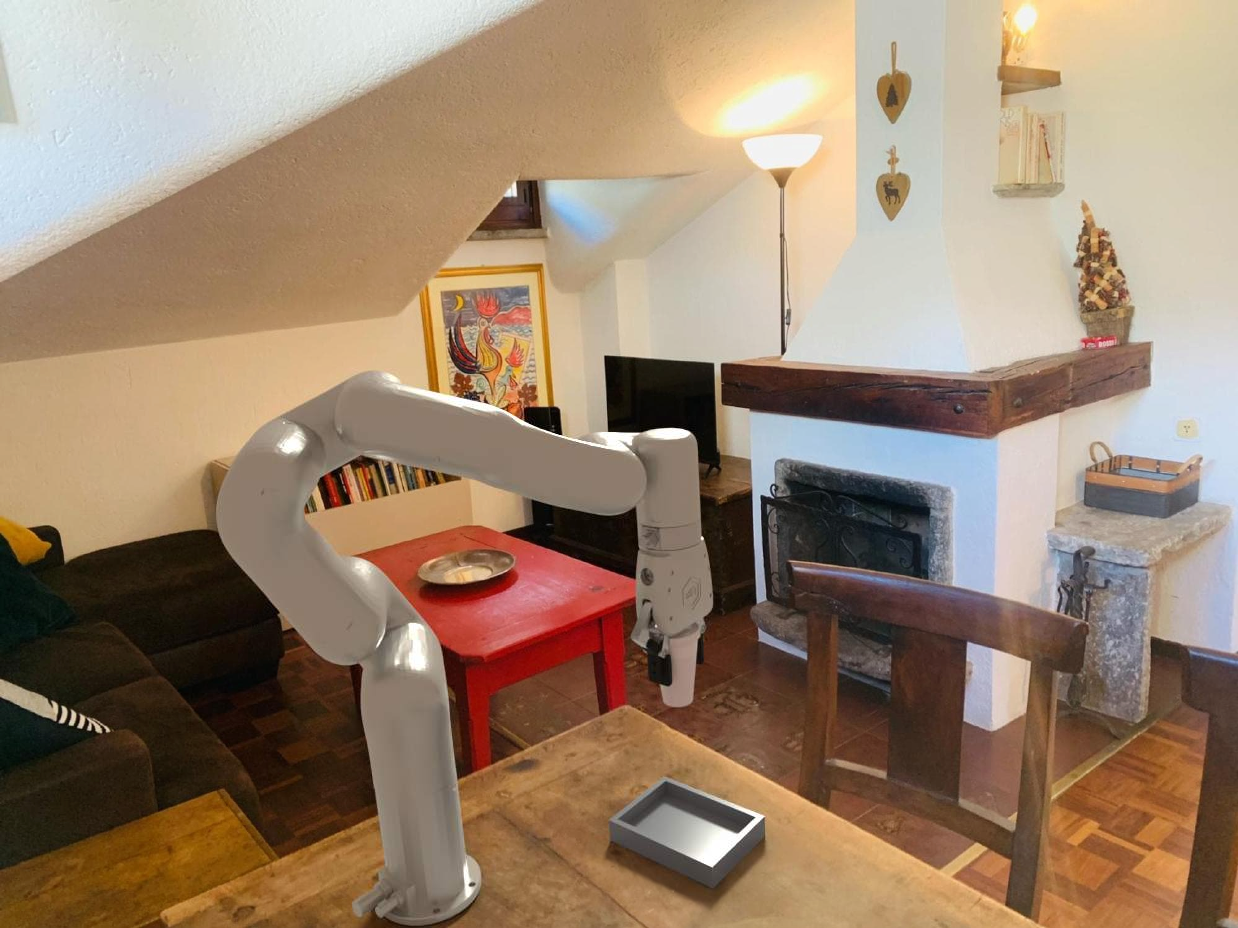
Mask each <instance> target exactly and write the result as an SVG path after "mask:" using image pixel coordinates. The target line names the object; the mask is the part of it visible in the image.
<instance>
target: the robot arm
mask: <svg viewBox="0 0 1238 928" xmlns="http://www.w3.org/2000/svg"><path fill="white" fill-rule="evenodd" d="M698 455H699V450H698V442H697V439H696V436H695V435H694V434H693V433H692V432H691V431H689V430H687V429H686V430H685V429H683V428H675V427H668V428H667V427H666V428H665V427H664V428H655V429H648V430H647V431H646V430H645V431H643V432H612V431H611V432H607V431H598V432H597V431H596V432H590V433H586V434H584V435H581V436H580V437H578V438H576V439H573V438H571V437H567V436H564V435H559V434H556V433H553V432H551V431H547V430H545V429H541V428H539V427H537V426H534V425H532V424H529V423H528V422H526V421H523V420H521V419H520V418H518V417H517V416H515V415H513V414H511V413H509V412H508V411H506V410H504V409H502V408H499V407H497V406H494V405H492V404H488V403H486V402H480V401H477V400H472V399H468V398H463V397H457V396H454V395H450V394H444V393H440V392H436V391H431V390H428V389H425V388H421V387H420V388H419V387H416V386H412V385H407V384H404V383H403V382H402V381H401V380H400V379H399V378H398V377H396V376H395V375H393V374H391V373H389V372H385V371H382V370H381V371H380V370H367V371H364V372H363V371H362V372H359V373H357V374H355V375H353V376H351V377H349V378H347V379H346V380H344V381H342V382H341V383H338V384H337V385H335V386H333V387H332V388H329V389H327V390H326V391H324V392H322V393H320V394H319V395H317V396H314V397H313V398H310V399H309V400H307V401H305V402H304V403H302V404H299V405H297V406H296V407H293V408H292V409H290V410H288V411H286V412H285V413H283V414H281V415H278V416H277V417H275V418H273V419H271V420H270V421H268V422H266V423H265V424H263V425H262V426H261V427H259V428H258V429H257V430H256V431H255V432H254V433H253V434H252V436H251V437H250V438H249V440H247V442H245V444H244V445H243V447H242V448H241V449H240V450H239V452H238V453H237V455H236V456H235V458H234V459H233V460H232V462H231V464H230V467H229V468H228V470H227V472H226V474H225V476H224V478H223V480H222V483H221V487H220V489H219V493H218V496H217V501H216V508H215V509H216V510H215V516H216V517H215V519H216V525H217V530H218V534H219V538H220V539H221V542H222V544H223V545H224V547H225V549H226V551H227V552H228V553H229V555H230V556H231V558H232V559H233V561H235V563H236V564H237V565H238V567H240V568H241V569H242V571H243V572H244V573H245V574H246V575H247V576H248V577H249V578H250V579H251V580H252V582H253V583H255V585H256V586H257V587H258V588H259V589H260V590H261V592H262V593H263V594H264V595H265V596H266V598H267V599H268V600H269V601H270V603H272V605H273V606H274V607H275V608H276V609H277V610H278V612H279V613H280V614H281V615H282V616H283V617H284V618H285V619H286V620H287V622H288V623H289V624H290V625H291V626H292V627H293V628H294V629H295V630H296V631H297V633H298V634H299V635H300V636H301V637H302V639H304V641H305V642H306V643H307V644H308V646H309V647H310V648H311V649H312V650H313V651H314V652H315V653H316V654H317V655H318V656H320V657H321V658H322V659H323V660H326V661H327V662H329V663H331V664H335V665H340V666H352V665H357V664H358V665H360V666H361V667H362V673H361V682H360V683H361V685H360V686H361V687H360V711H361V712H360V713H361V719H362V725H363V731H364V734H365V735H364V736H365V739H366V740H365V741H366V744H367V750H368V756H369V762H370V769H371V774H372V775H371V776H372V781H373V782H372V783H373V789H374V793H375V800H376V808H377V813H378V814H377V815H378V823H379V828H380V836H381V837H380V838H381V842H382V850H383V858H384V864H385V866H384V867H382V868H381V869H379V870H378V871H377V874H378V881H377V882H375V884H374V885H373V889H371V890H370V891H369V892H367V893H364V894H362V895H361V896H360V897H358V898H357V899H355V900H353V901H352V903H351V907H352V910H353V913H354V914H355V915H356V917H358V918H361V917H363V916H365V915H367V914H368V913H369V912H370V911H372V910H373V909H374V911H375V914H376V916H377V917H378V918H380V919H382V918H384V917H385V918H386V919H388V920H390V921H391V922H394V923H396V924H399V925H405V926H415V927H418V926H420V927H421V926H427V925H433V924H437V923H440V922H443V921H445V920H446V921H447V920H449V919H451V918H452V917H455V916H456V915H457V914H459V913H461V912H462V911H463V910H465V909H466V908H467V907H469V906H470V904H471V903H473V901H475V899H476V897H477V896H478V894H479V893H480V890H481V887H482V881H483V880H482V879H483V878H482V870H481V868H480V865H479V864H478V863H477V861H476V860H475V859H474V858H473V857H472V856H470V855H469V854H467V853H466V845H465V844H466V843H465V835H464V827H463V819H462V818H463V817H462V810H461V801H460V794H459V791H460V790H459V784H458V776H457V768H456V760H455V752H454V742H453V735H452V727H451V724H452V723H451V714H450V701H449V700H450V699H449V692H448V691H449V690H448V683H447V677H446V670H445V664H444V656H443V650H442V647H441V643H440V641H439V639H438V637H437V635H436V634H435V632H434V631H433V629H432V628H431V627H430V625H429V624H428V623H427V622H426V620H425V619H424V618H423V617H422V616H421V614H420V613H419V612H418V611H417V609H415V607H413V605H412V604H411V602H409V601H408V599H407V598H406V597H405V596H404V594H403V593H402V592H401V591H400V590H399V588H398V587H397V586H396V585H395V584H394V582H393V581H392V580H391V579H390V578H389V577H388V575H386V574H385V573H384V572H383V571H382V570H381V568H379V567H378V566H376V565H375V564H374V563H372V562H371V561H369V560H366V559H365V558H361V557H358V556H352V555H351V556H349V555H348V556H347V555H346V556H345V555H344V556H340V554H338V552H337V551H336V549H334V548H333V546H332V544H331V543H330V542H329V541H328V540H327V538H325V537H324V536H323V535H322V533H321V532H319V531H318V530H317V529H316V528H314V527H313V526H312V525H311V524H310V523H309V521H308V520H307V519H306V516H305V507H306V504H307V502H308V501H309V499H310V498H311V496H312V495H313V493H314V492H315V490H316V488H317V485H318V483H319V482H320V478H322V477H324V476H325V475H327V474H329V473H331V472H333V471H334V470H336V469H338V468H340V467H342V466H343V465H346V464H348V463H349V462H351V461H353V460H355V459H356V458H359V457H360V456H363V457H366V458H371V459H375V460H379V461H384V462H389V463H392V464H393V463H394V464H398V465H403V466H409V467H413V468H418V469H422V470H427V471H431V472H432V471H433V472H437V473H442V474H446V475H450V476H456V477H460V478H464V479H469V480H473V481H476V482H478V483H481V484H483V485H485V486H489V487H492V488H494V489H498V490H502V491H506V492H509V493H512V494H515V495H518V496H521V497H523V498H527V499H531V500H533V501H537V502H540V503H544V504H548V505H550V506H551V505H552V506H556V507H559V508H565V509H570V510H574V511H578V512H579V511H580V512H584V513H588V514H594V515H595V514H596V515H598V516H599V515H600V516H616V515H621V514H625V513H626V512H629V511H631V510H632V509H634V508H635V509H636V523H637V539H638V541H637V542H638V548H639V550H638V551H637V559H636V569H635V570H636V571H635V607H636V608H635V609H636V618H637V620H636V622H635V625H634V627H633V630H632V631H631V634H630V639H631V640H632V641H633V642H634V643H636V644H637V645H638V646H639V647H640V648H641V649H642V651H643V653H646V655H647V656H646V658H647V659H646V660H647V675H648V680H649V681H650V682H651V683H654V684H657V685H660V684H661V685H664V686H667V687H669V686H670V685H672V664H671V655H669V654H667V652H668V646H669V640H670V636H673V635H675V634H677V633H679V632H680V631H682V630H684V629H685V628H687V627H689V626H690V625H692V624H693V623H695V622H696V623H698V625H699V626H700V633H701V635H700V638H699V639H698V643H697V655H696V665H700V666H701V665H703V664H704V663H705V650H704V649H705V648H704V647H705V646H704V634H703V633H705V631H706V628H707V626H706V624H705V621H706V619H707V616H708V614H709V613H711V612H712V609H713V607H714V593H713V584H712V583H713V582H712V573H711V566H710V560H709V554H708V549H707V545H706V542H705V539H704V537H703V536H702V521H701V520H702V518H701V517H702V516H701V514H702V513H701V499H700V498H701V493H700V476H699V475H700V473H699V456H698ZM655 625H656V626H657V627H655ZM655 633H656V634H660V635H661V638H660V644H658V643H657V642H656V641H655V640H654V635H655Z"/></svg>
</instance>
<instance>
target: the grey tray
mask: <svg viewBox="0 0 1238 928" xmlns="http://www.w3.org/2000/svg"><path fill="white" fill-rule="evenodd" d="M765 818H766V816H765V815H763V814H761V813H759V812H758V813H757V812H755V811H753V810H750V809H747V808H746V807H743V806H740V805H738V804H735V803H733V802H730V801H729V800H725V799H723V798H720V797H718V796H715V795H713V794H710V793H707V792H705V791H702V790H700V789H697V788H694V787H692V786H690V785H687V784H685V783H683V782H681V781H677V780H676V779H672V778H670V777H667V776H663V777H661V779H658V781H657V782H655V783H654V784H653V785H651V786H650V787H649V788H648V789H647V790H645V791H643V793H641V794H640V795H639V796H637V797H636V798H635V799H633V800H632V801H631V802H630V803H628V804H627V805H626V806H624V808H622V809H621V810H620V811H618V812H617V813H615V814H614V815H613V816H611V818H609V819H608V826H609V829H608V830H609V840H610V841H611V842H612V843H615V844H617V845H619V846H621V847H623V848H626V849H628V850H630V851H632V852H634V853H637V854H639V855H640V856H642V857H645V858H647V859H649V860H651V861H653V862H654V863H655V862H656V864H659V865H662V866H663V867H666V868H668V869H670V870H672V871H674V872H676V873H678V874H681V875H683V876H685V877H686V878H689V879H691V880H694V881H695V882H698V883H699V884H702V885H704V886H706V887H707V888H710V889H712V890H713V889H715V887H717V886H718V884H720V883H721V882H722V881H723V879H725V878H726V876H728V875H729V874H730V873H731V872H732V871H733V870H734V869H735V868H736V867H737V865H739V864H740V862H741V861H743V860H744V859H745V858H746V856H748V855H749V854H750V852H752V851H753V850H754V848H755V847H756V846H758V845H759V843H761V842H762V840H764V839H765V838H766V819H765Z"/></svg>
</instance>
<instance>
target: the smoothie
mask: <svg viewBox="0 0 1238 928" xmlns="http://www.w3.org/2000/svg"><path fill="white" fill-rule="evenodd" d="M655 627H657V626H656V625H655ZM701 634H702V633H700V626H699V625H698V623H696V622H695V623H693V624H692V625H690V626H689V627H687V628H685V629H684V630H682V631H680V632H679V633H677V634H675V635H673V636H670V640H669V646H668V652H667V654H669V655H671V664H672V685H670V686H669V687H667V686H664V685H661V684H659V686H660V691H661V696H662V701H663V703H664V705H666V706H669V707H672V708H681V707H686V706H689V705H690V704H692V703H693V700H694V691H695V678H696V677H695V676H696V666H697V664H696V655H697V643H698V639H699V638H700V635H701ZM660 638H661V635H660V634H656V633H655V635H654V640H655V641H656V642H657V643H658V644H660Z"/></svg>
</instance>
